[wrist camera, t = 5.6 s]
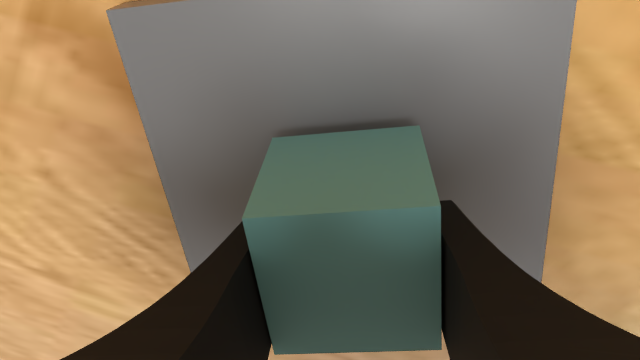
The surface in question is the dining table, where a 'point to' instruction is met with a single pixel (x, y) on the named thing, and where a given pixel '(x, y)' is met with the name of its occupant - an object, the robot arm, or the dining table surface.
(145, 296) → the dining table surface
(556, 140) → the plate
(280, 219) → the teal cube
